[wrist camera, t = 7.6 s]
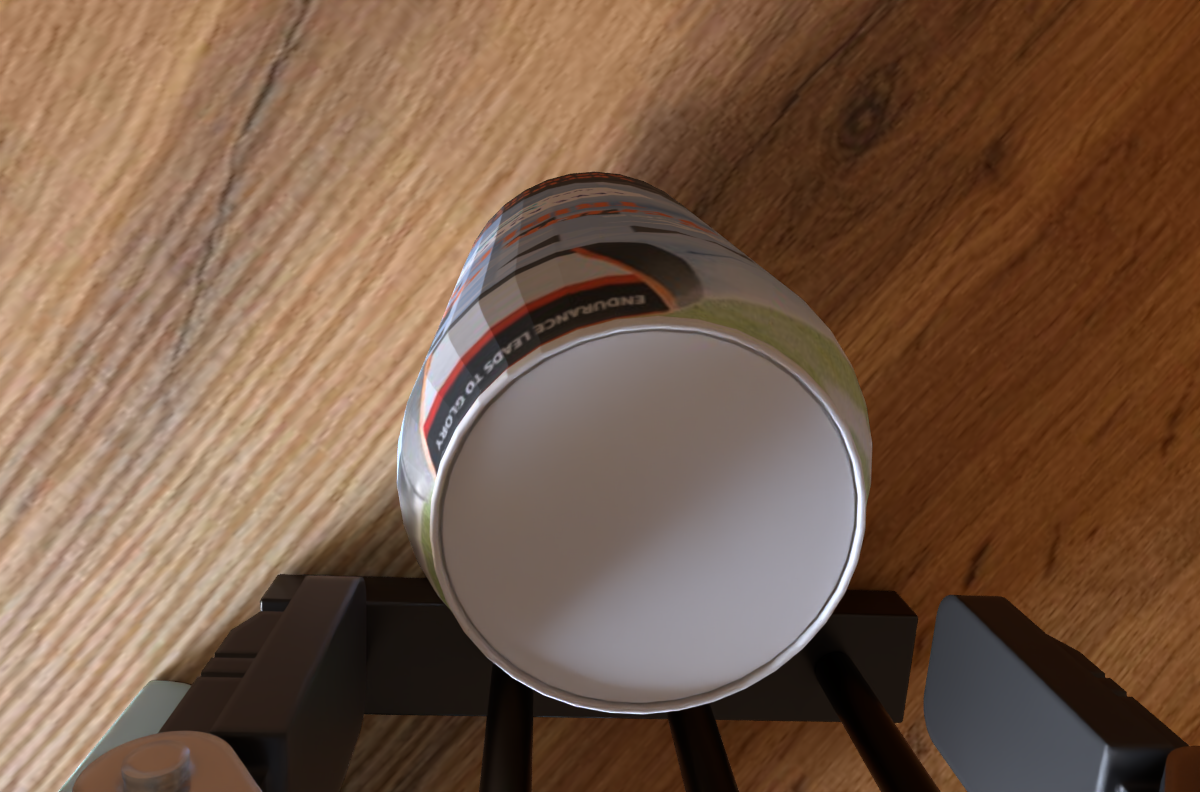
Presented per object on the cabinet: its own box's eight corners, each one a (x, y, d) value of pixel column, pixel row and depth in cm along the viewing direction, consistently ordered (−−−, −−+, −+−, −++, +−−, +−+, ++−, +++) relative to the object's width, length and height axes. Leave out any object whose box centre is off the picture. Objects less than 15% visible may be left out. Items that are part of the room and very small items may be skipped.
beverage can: (645, 128, 20) (733, -17, 8) (786, 402, 21) (1038, 614, 10) (409, 261, 21) (176, 303, 9) (562, 521, 22) (539, 865, 10)
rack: (277, 572, 22) (145, 758, 15) (896, 589, 23) (1059, 770, 16) (280, 680, 23) (154, 910, 15) (881, 692, 24) (1031, 910, 16)
